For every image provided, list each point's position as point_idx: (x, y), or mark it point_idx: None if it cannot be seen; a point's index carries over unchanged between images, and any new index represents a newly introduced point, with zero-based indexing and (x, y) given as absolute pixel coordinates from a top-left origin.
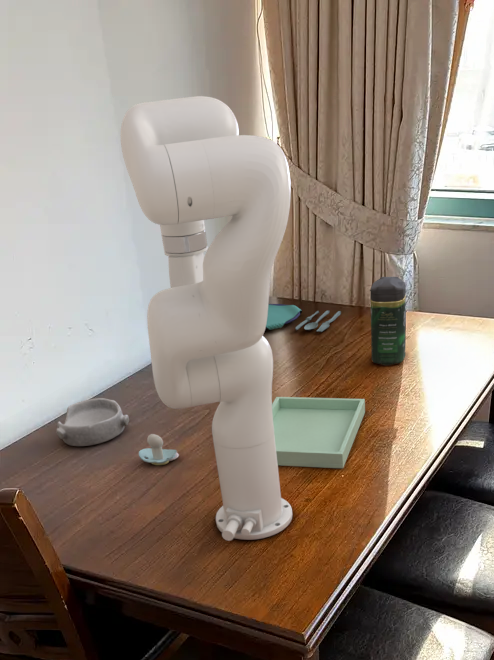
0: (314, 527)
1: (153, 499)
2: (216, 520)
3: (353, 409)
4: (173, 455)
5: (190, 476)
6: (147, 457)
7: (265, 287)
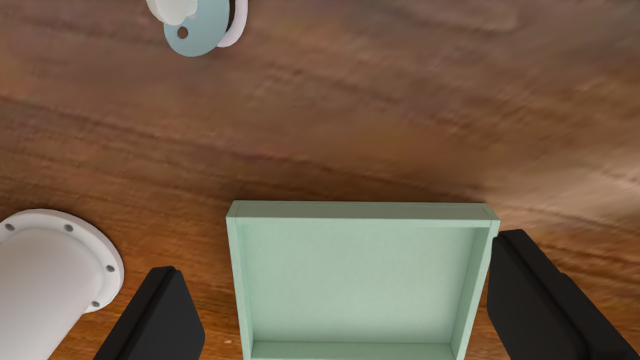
0: (81, 331)
1: (38, 57)
2: (6, 220)
3: (452, 335)
4: (181, 54)
5: (156, 106)
6: None
7: None
